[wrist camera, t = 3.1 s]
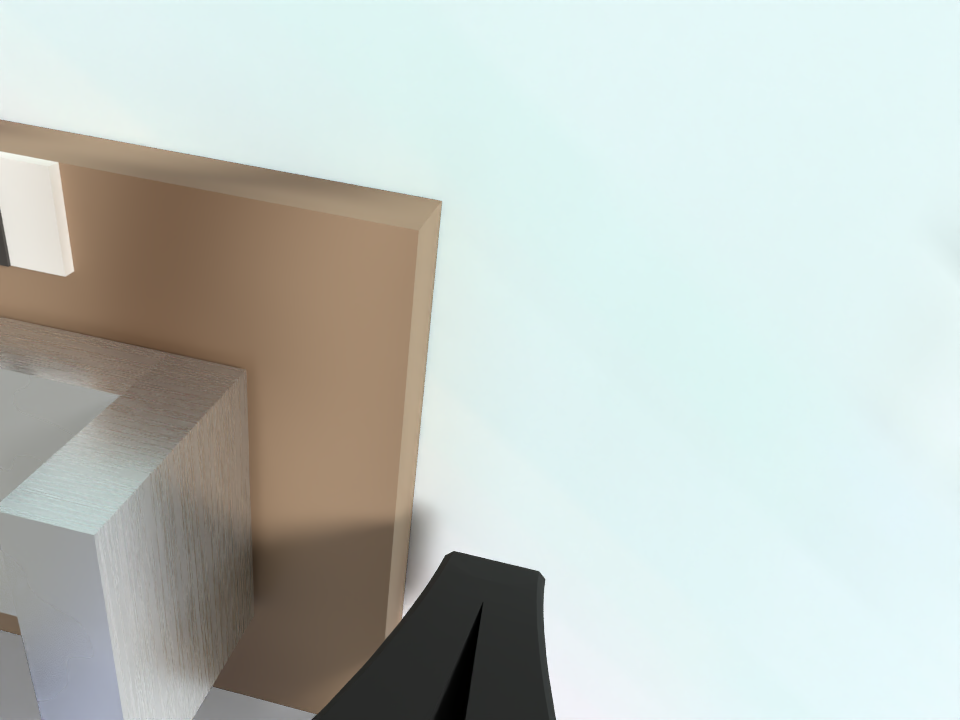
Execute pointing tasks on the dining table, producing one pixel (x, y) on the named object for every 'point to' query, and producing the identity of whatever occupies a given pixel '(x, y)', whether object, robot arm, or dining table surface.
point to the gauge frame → (254, 360)
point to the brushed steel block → (122, 521)
